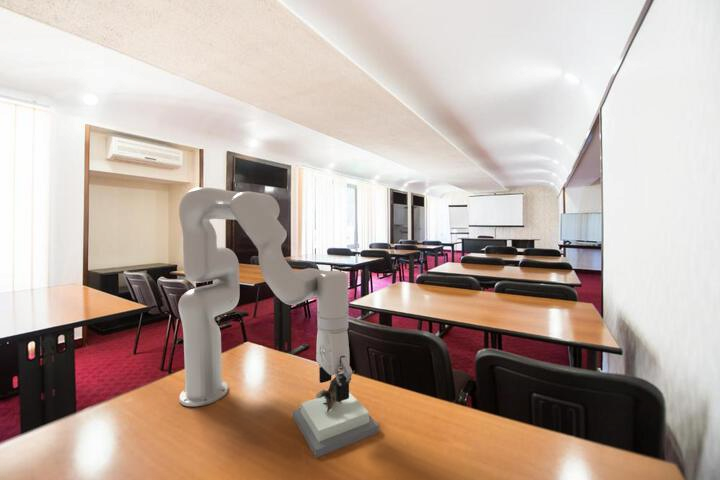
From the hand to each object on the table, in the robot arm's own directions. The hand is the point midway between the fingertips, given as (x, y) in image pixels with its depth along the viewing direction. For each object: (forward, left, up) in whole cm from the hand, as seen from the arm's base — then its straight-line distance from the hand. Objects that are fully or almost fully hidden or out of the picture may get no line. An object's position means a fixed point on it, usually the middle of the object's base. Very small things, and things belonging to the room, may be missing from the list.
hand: (333, 390), depth 75 cm
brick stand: (0, 0, -9) cm, 9 cm away
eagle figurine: (-2, +1, -4) cm, 5 cm away
